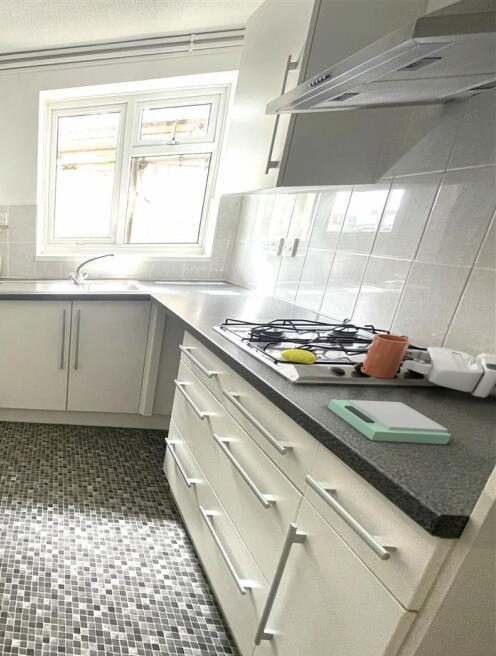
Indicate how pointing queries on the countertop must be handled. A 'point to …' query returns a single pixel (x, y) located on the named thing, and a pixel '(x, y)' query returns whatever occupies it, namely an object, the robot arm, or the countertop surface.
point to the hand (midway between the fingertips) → (402, 358)
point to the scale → (389, 421)
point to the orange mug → (385, 355)
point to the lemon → (299, 356)
